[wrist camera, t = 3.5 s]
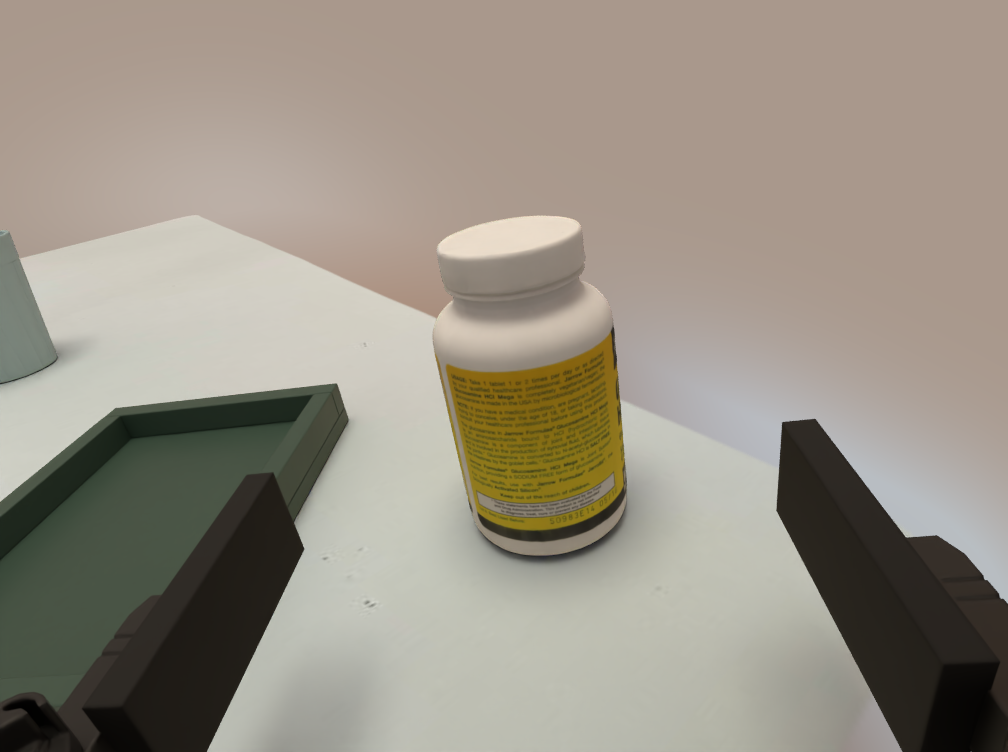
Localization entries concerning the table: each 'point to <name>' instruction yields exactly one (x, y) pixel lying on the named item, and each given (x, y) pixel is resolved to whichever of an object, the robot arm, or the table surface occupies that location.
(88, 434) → the tray
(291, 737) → the table surface
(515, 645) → the table surface
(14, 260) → the cup
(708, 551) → the table surface
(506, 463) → the pill bottle
